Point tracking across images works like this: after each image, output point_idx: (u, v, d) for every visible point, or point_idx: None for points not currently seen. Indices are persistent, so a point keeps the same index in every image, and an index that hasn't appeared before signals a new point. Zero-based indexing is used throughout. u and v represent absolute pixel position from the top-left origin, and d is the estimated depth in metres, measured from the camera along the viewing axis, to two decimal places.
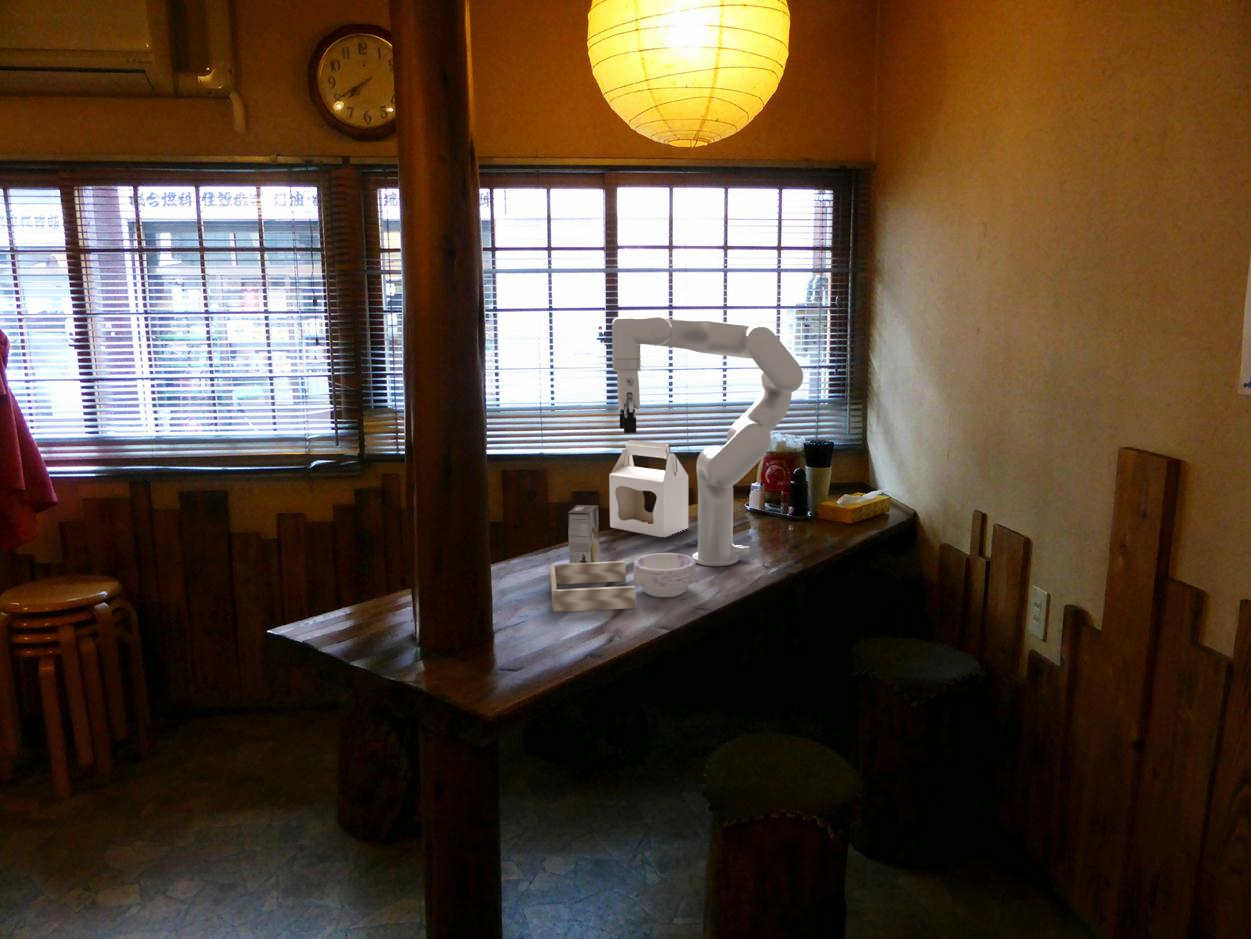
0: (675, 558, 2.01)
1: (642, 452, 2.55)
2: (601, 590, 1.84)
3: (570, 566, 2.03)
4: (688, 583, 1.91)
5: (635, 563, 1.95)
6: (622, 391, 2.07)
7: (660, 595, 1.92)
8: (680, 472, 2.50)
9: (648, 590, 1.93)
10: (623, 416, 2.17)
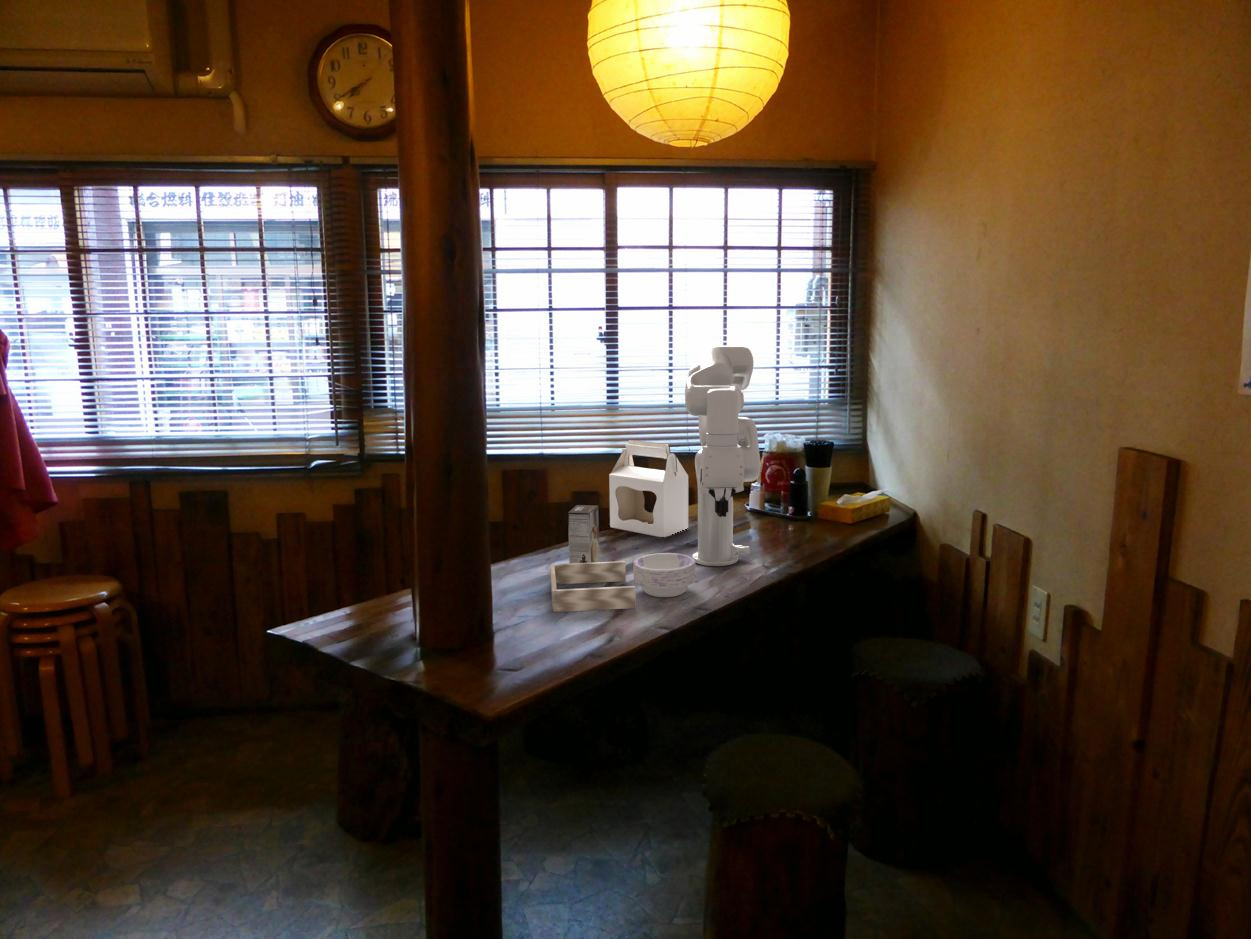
0: (675, 558, 2.01)
1: (642, 452, 2.55)
2: (601, 590, 1.84)
3: (570, 566, 2.03)
4: (688, 583, 1.91)
5: (635, 563, 1.95)
6: (742, 467, 1.92)
7: (660, 595, 1.92)
8: (680, 472, 2.50)
9: (648, 590, 1.93)
10: None
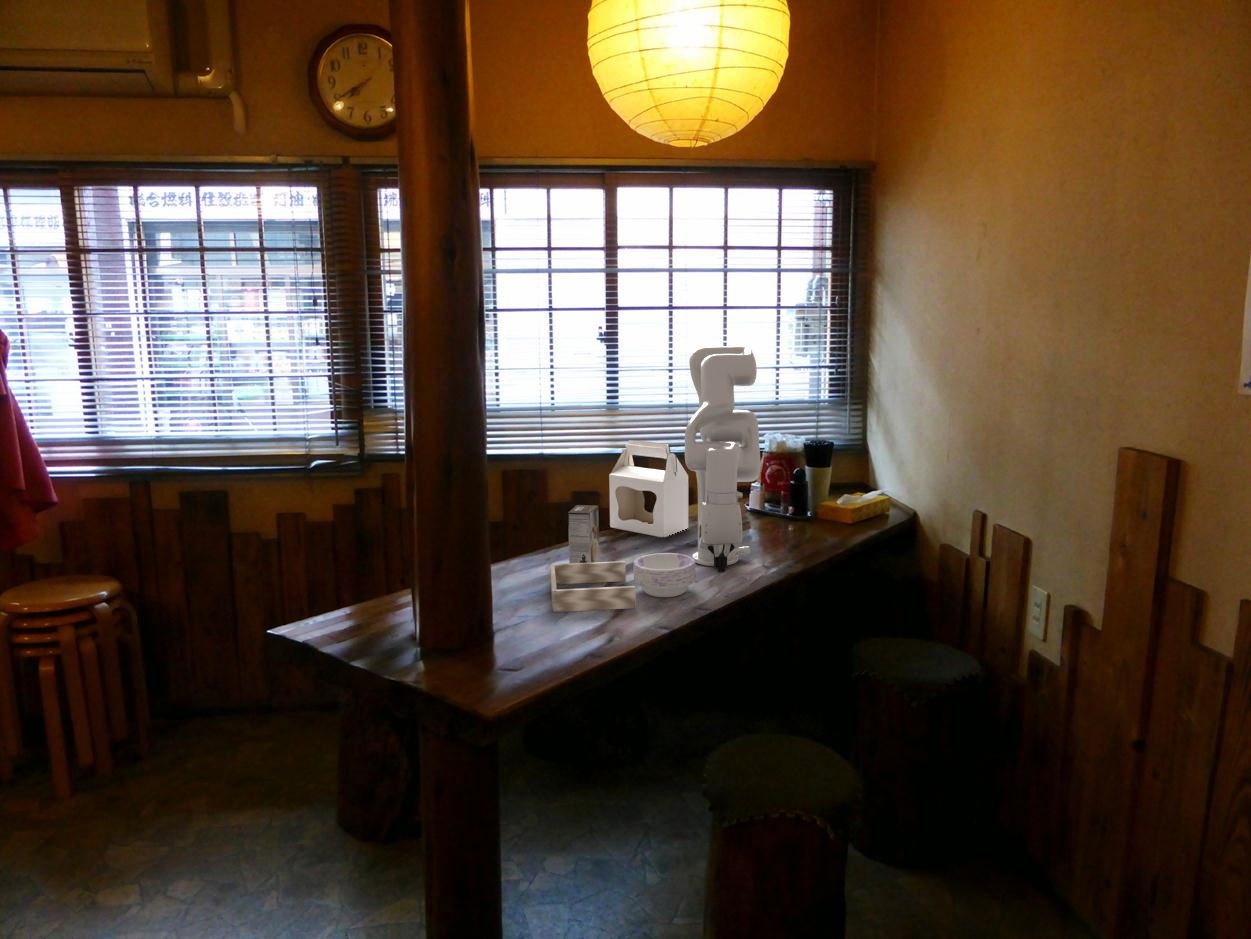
0: (675, 558, 2.01)
1: (642, 452, 2.55)
2: (601, 590, 1.84)
3: (570, 566, 2.03)
4: (688, 583, 1.91)
5: (635, 563, 1.95)
6: (741, 524, 1.95)
7: (660, 595, 1.92)
8: (680, 472, 2.50)
9: (648, 590, 1.93)
10: None
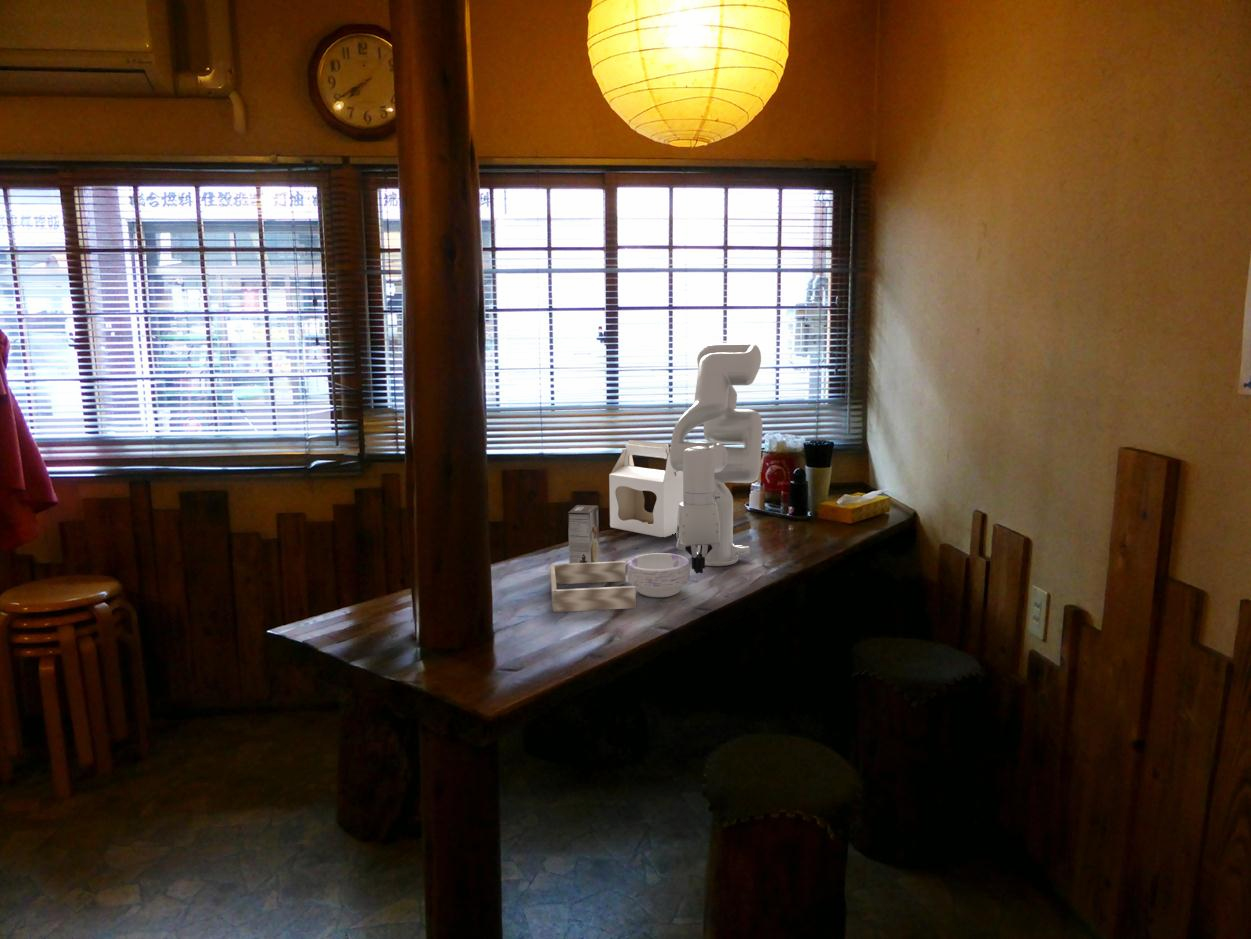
0: (669, 558, 2.01)
1: (642, 452, 2.55)
2: (601, 590, 1.84)
3: (570, 566, 2.03)
4: (682, 583, 1.91)
5: (629, 563, 1.95)
6: (719, 524, 1.94)
7: (654, 595, 1.92)
8: (680, 472, 2.50)
9: (642, 590, 1.93)
10: None
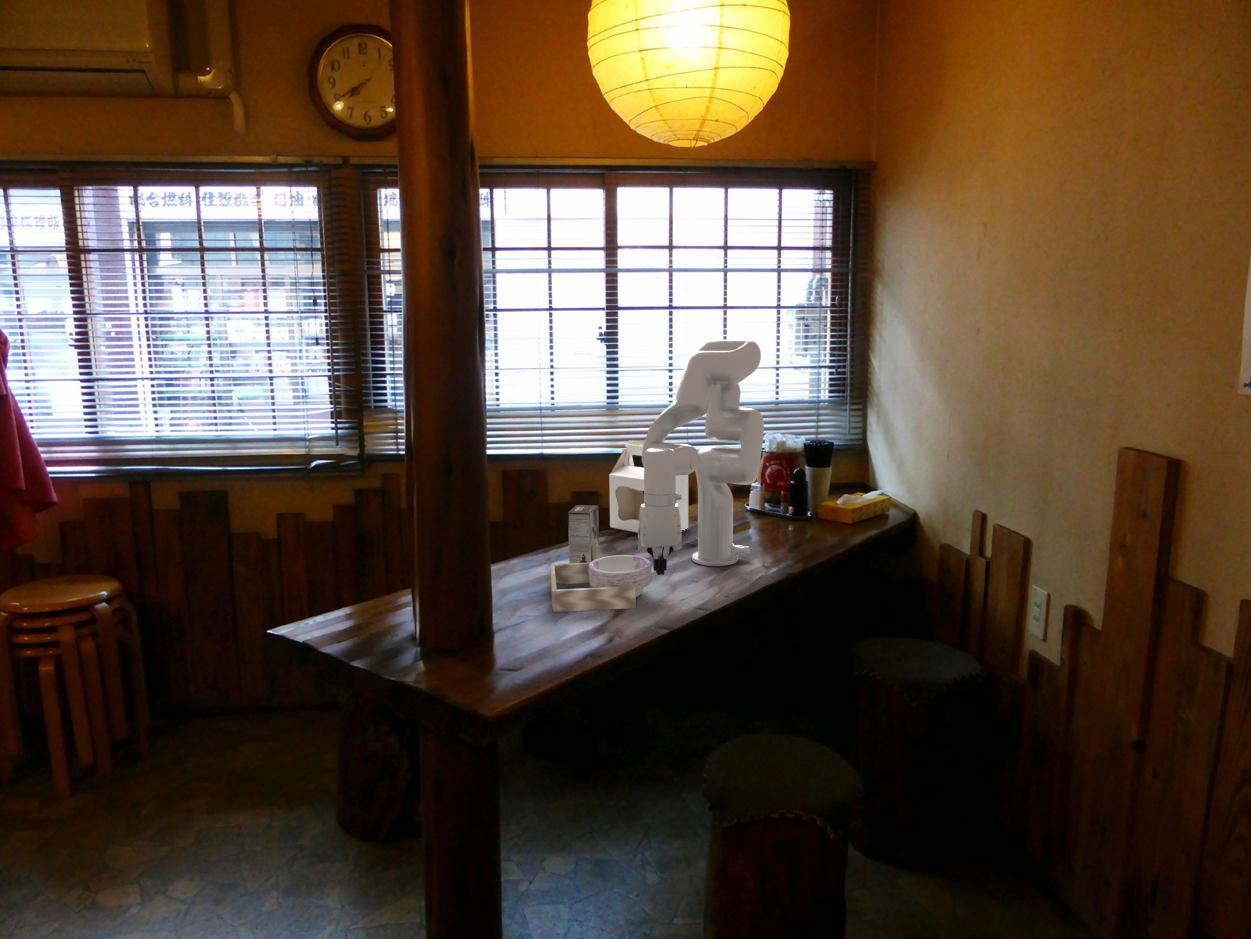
0: (630, 560, 2.00)
1: None
2: (601, 590, 1.84)
3: (570, 566, 2.03)
4: (644, 585, 1.90)
5: (590, 566, 1.93)
6: (680, 526, 1.93)
7: None
8: None
9: None
10: None
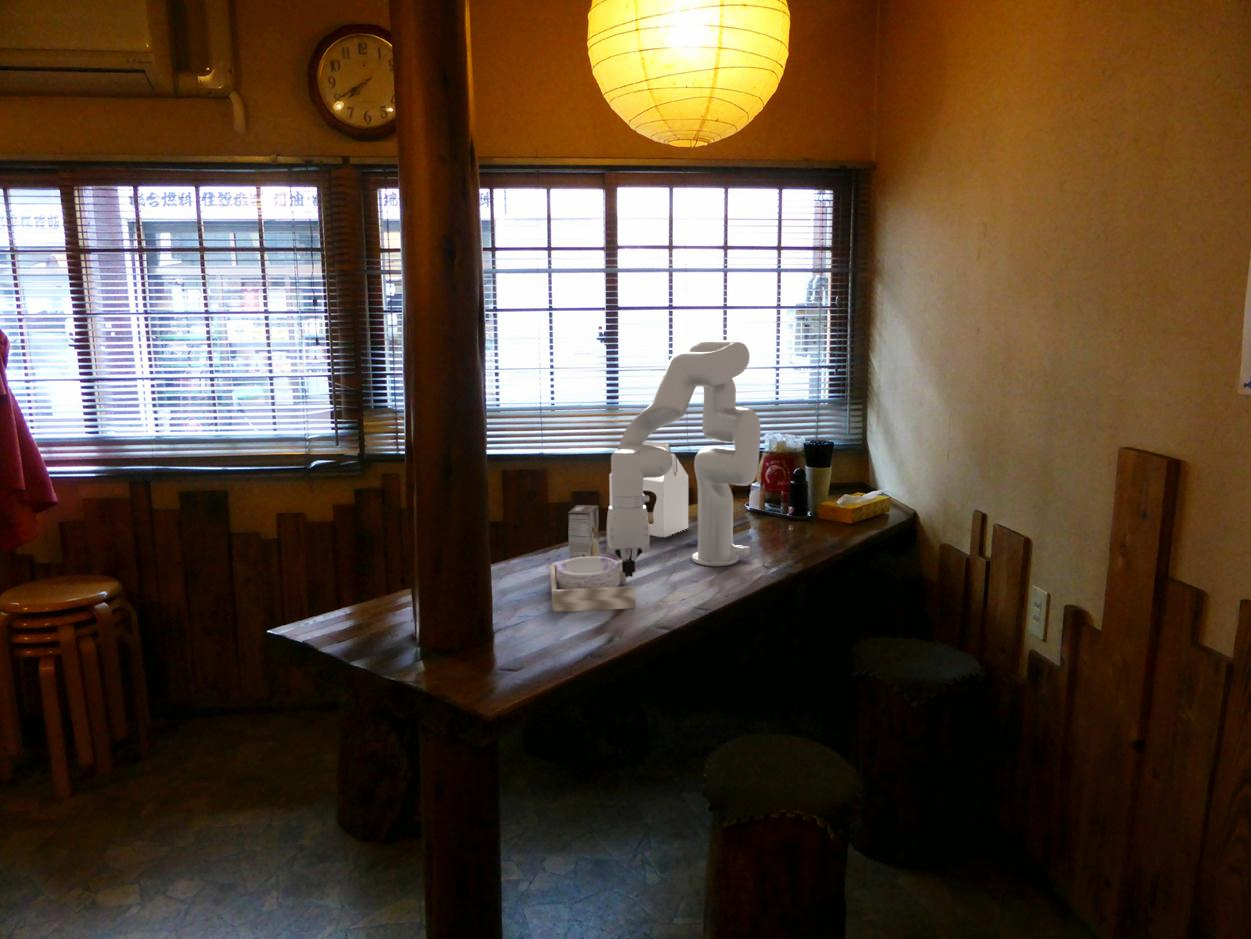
0: (598, 561, 1.99)
1: None
2: (601, 590, 1.84)
3: None
4: (612, 586, 1.89)
5: (558, 568, 1.92)
6: (648, 528, 1.92)
7: None
8: (680, 472, 2.50)
9: None
10: None
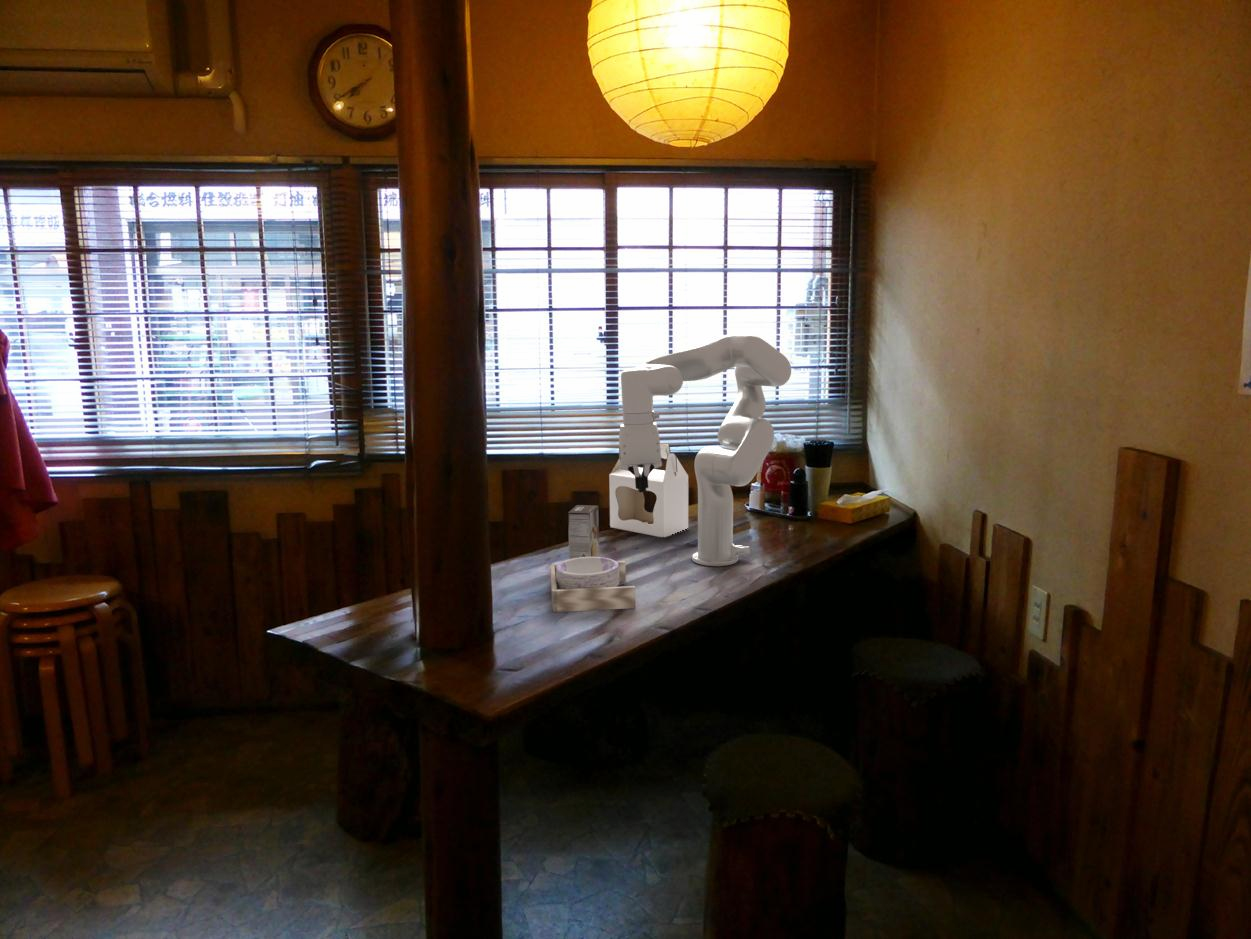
0: (598, 562, 1.99)
1: None
2: (601, 590, 1.84)
3: None
4: None
5: (558, 568, 1.92)
6: (659, 444, 1.99)
7: None
8: (680, 472, 2.50)
9: None
10: None
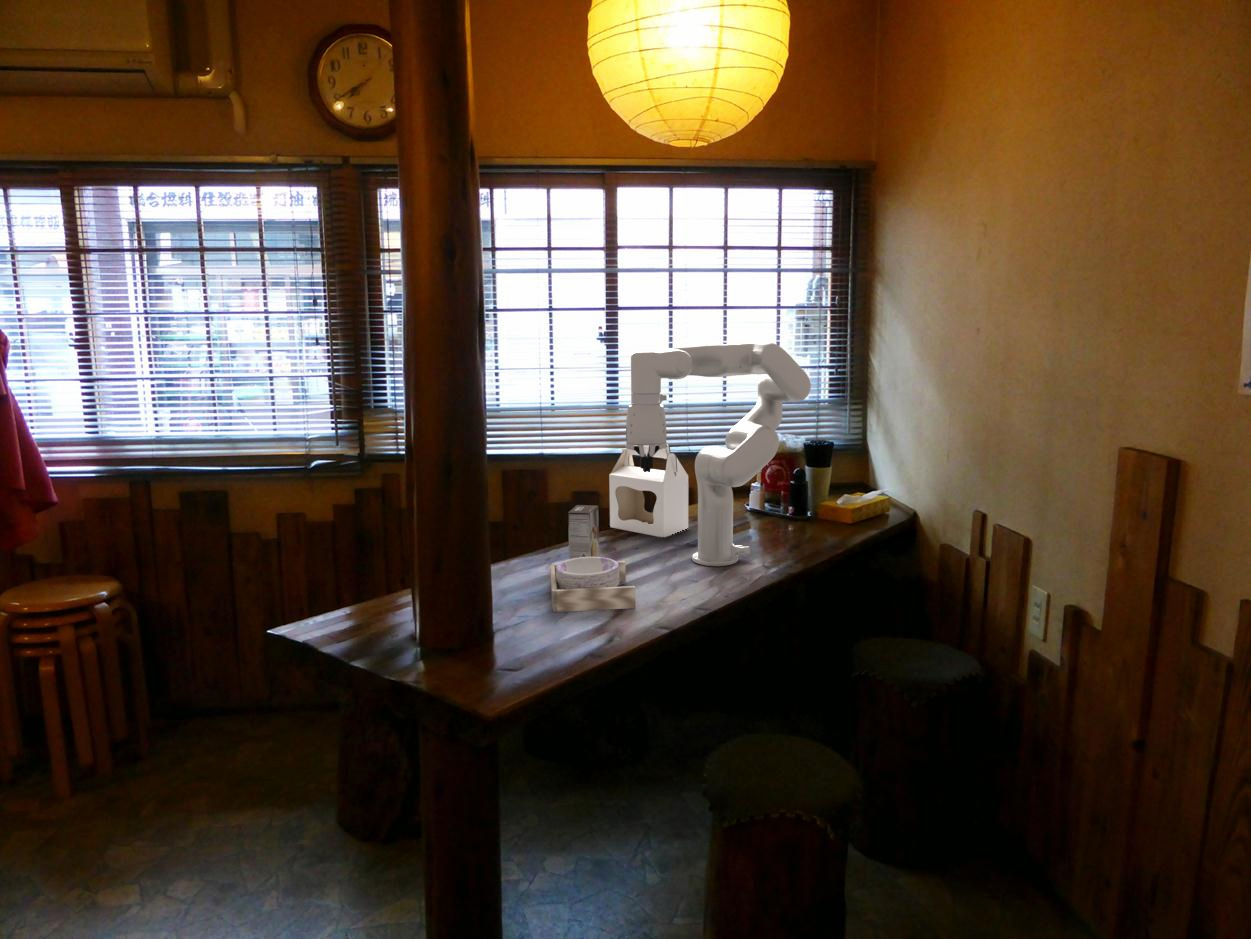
0: (598, 562, 1.99)
1: None
2: (601, 590, 1.84)
3: None
4: None
5: (558, 568, 1.92)
6: (665, 425, 2.04)
7: None
8: (680, 472, 2.50)
9: None
10: None
